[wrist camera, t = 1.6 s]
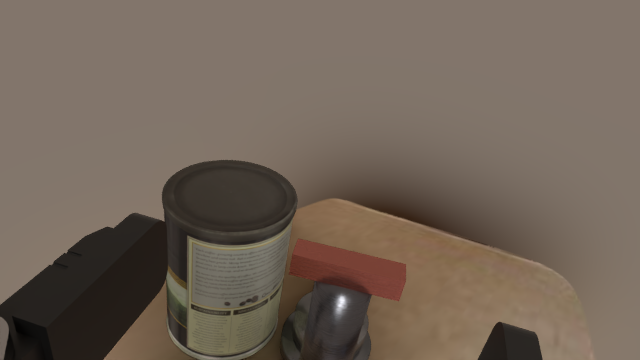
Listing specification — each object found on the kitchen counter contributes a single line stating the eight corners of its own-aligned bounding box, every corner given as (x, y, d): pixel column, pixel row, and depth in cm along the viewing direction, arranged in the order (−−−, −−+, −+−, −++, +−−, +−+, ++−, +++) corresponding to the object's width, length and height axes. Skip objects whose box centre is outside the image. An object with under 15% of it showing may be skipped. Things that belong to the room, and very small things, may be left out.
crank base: (291, 305, 45) (293, 295, 44) (370, 325, 44) (374, 315, 43) (269, 374, 38) (271, 363, 37) (363, 399, 37) (366, 388, 36)
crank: (311, 262, 48) (338, 121, 40) (370, 276, 47) (410, 136, 39) (257, 443, 31) (284, 264, 23) (347, 468, 31) (409, 295, 22)
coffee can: (140, 327, 40) (130, 195, 33) (215, 264, 48) (220, 147, 41) (235, 386, 36) (248, 253, 29) (298, 307, 45) (320, 188, 37)
